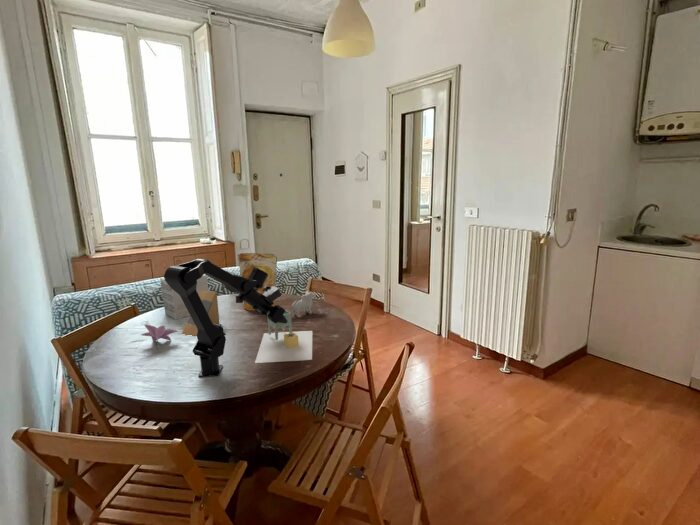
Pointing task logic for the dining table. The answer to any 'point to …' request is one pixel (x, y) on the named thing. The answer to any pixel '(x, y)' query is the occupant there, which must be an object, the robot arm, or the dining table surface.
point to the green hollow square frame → (280, 324)
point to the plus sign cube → (291, 340)
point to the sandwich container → (211, 307)
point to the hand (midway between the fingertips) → (282, 319)
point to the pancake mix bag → (263, 263)
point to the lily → (158, 332)
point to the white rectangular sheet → (284, 348)
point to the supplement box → (179, 298)
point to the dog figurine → (303, 303)
